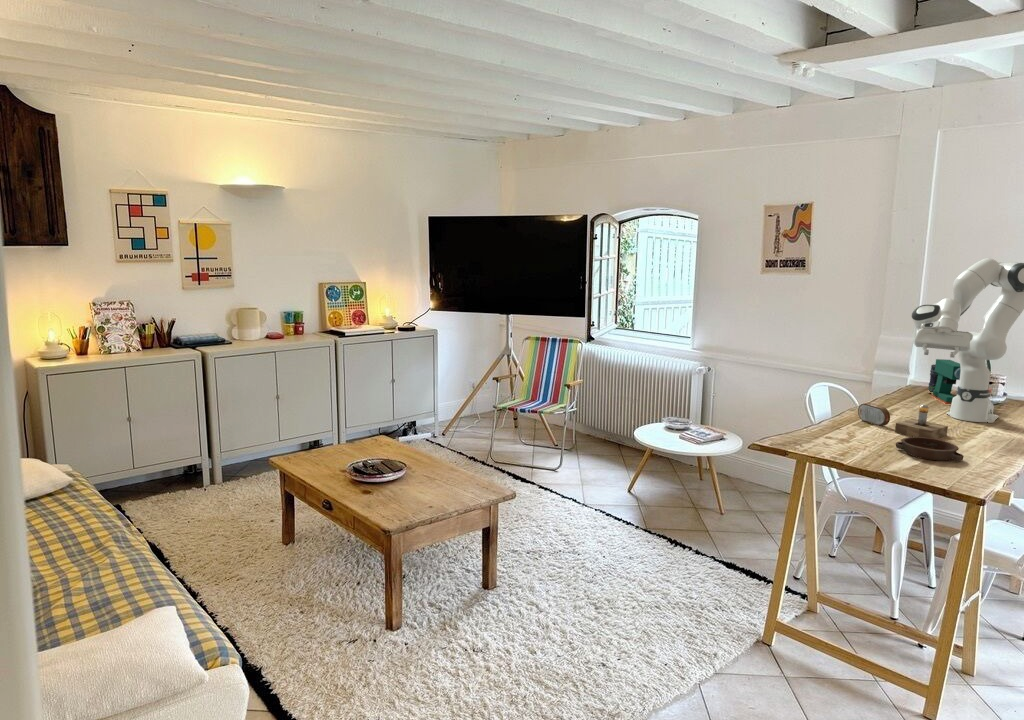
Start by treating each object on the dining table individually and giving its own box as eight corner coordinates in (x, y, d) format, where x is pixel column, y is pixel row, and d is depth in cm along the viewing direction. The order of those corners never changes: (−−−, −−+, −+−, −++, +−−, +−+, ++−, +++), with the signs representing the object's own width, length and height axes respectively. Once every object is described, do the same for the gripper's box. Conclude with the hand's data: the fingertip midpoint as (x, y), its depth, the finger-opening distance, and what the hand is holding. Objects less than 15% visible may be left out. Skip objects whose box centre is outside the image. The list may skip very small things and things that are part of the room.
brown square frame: (911, 427, 295) (912, 418, 294) (946, 435, 284) (947, 426, 283) (894, 432, 287) (895, 423, 286) (930, 440, 276) (931, 431, 275)
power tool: (973, 412, 326) (979, 370, 323) (956, 411, 328) (962, 369, 324) (945, 397, 357) (950, 359, 354) (930, 397, 358) (935, 358, 355)
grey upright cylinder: (918, 432, 288) (921, 404, 286) (926, 434, 285) (930, 406, 283) (914, 433, 286) (918, 405, 284) (922, 435, 283) (926, 407, 281)
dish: (901, 445, 270) (902, 432, 269) (967, 457, 255) (969, 444, 254) (888, 454, 257) (890, 441, 256) (958, 468, 242) (960, 454, 242)
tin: (889, 427, 295) (891, 408, 294) (884, 428, 294) (886, 408, 293) (861, 419, 309) (863, 400, 308) (855, 419, 308) (857, 401, 306)
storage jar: (945, 392, 370) (949, 365, 367) (952, 396, 360) (956, 368, 358) (924, 391, 372) (928, 364, 370) (931, 395, 363) (934, 367, 360)
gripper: (973, 337, 292) (968, 362, 286) (918, 332, 305) (912, 357, 299) (973, 327, 288) (968, 353, 282) (917, 323, 300) (911, 348, 294)
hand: (939, 355), depth 291 cm, fingers open, 8 cm apart
